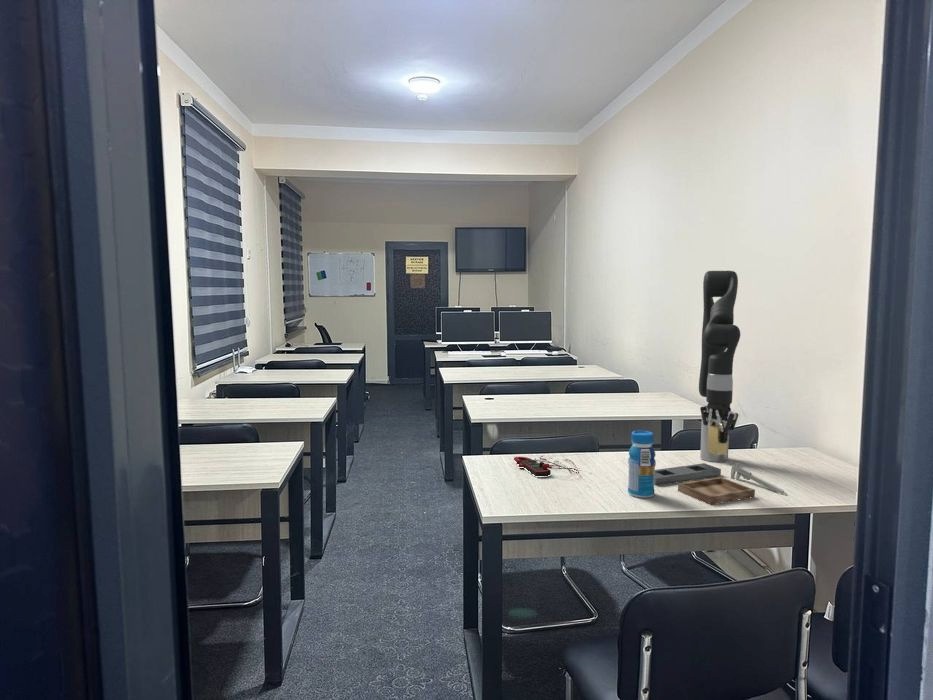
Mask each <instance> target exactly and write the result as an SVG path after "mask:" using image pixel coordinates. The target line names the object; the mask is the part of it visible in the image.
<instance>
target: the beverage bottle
mask: <svg viewBox="0 0 933 700" xmlns="http://www.w3.org/2000/svg"><path fill="white" fill-rule="evenodd" d="M630 439H631V443H632V445H631V446H630V448H629V450H628V455H629V457H628V460H627V463H628V487H627V494H629V495H630V496H632V497H635V498H640V499H642V498H643V499H645V498H647V499H648V498H652V497H653V496H655V485H654V476H655V470H656V469H655V468H656V465H657V462H656V459H655V457H656V451H655V449H654V447H653V445H654V439H655V437H654V433H653V432H652V431H648V430H633V431H632V432H631V438H630Z"/></svg>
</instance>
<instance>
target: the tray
mask: <svg viewBox="0 0 933 700" xmlns="http://www.w3.org/2000/svg"><path fill="white" fill-rule="evenodd" d="M679 491H680V492H679ZM677 492H679V493H681V492H682V494H684V495H686V496H689V497H690V496H691V497H690V498H693V499H696V500H697V499H698V501H700V502H702V501H703V502H702V503H704V502H705V503H704V504H707V505H709V504H713V505H717V504H716V503H719V504H722V503H721V502H725V503H729V502H728V501H731V502H734V501H733V500H737V501H739V500H738V499H742V500H745V499H744V498H748V499H751V498H750V497H754V498H755V496H756V493H755V492H756V489H754V488H751V487H749V486H745V485H743V484H741V483H738V482H735V481H732V480H730V479H727V478H725V477H722V476H718V477H712V478H705V479H698V480H691V481H685V482H678V483H677Z"/></svg>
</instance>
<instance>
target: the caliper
mask: <svg viewBox="0 0 933 700" xmlns="http://www.w3.org/2000/svg"><path fill="white" fill-rule="evenodd" d="M740 465H741V464H740V463H738V462H737V461H736V462H734V464H732V467H731V469H730V478H731V479H732V478H733V479H734V478H735V479H736V480H735V481H738V480H737V479H740V478H741V477H742V478H743V479H745V480H746V481H750V480H751V481H754V482H755V483H757V484H759V485H761V486H763V487H764V488H767V489H768V490H771V491H772V490H773V491H772V492H774V491H776V492H779V493H782V494H781V495H783V494H785V495H786V494H787V492H785V490H784V489H782V488H780V487H777V486H776V485H774V484H772V483H770V482H768V481H766V480H764V479H762V478H760V477H758V476H756V475H754V474H752V473H753V472H751V471H749V470H747V469H745V468H744V467H741V466H740ZM776 492H775V493H776ZM779 493H778V494H779ZM785 495H784V496H785ZM786 496H787V495H786Z"/></svg>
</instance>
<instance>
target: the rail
mask: <svg viewBox="0 0 933 700" xmlns="http://www.w3.org/2000/svg"><path fill="white" fill-rule="evenodd" d="M721 473H722V469H721V468H718V467H717V466H716V467H715V466H713V465H710V464H707V463H705V462H704V463H695V464H688V465H681V466H673V467H667V468H666V467H665V468H661V469H660V468H659V469H655V476H654V487H655V486H657V487H658V486H662V485H670V483H671V484H676V482H678V483H684V482H683V481H685V482H691V481H698V480H705V479H711V478H718V477H722V474H721ZM704 478H705V479H704ZM697 479H698V480H697ZM690 480H691V481H690Z"/></svg>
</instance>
